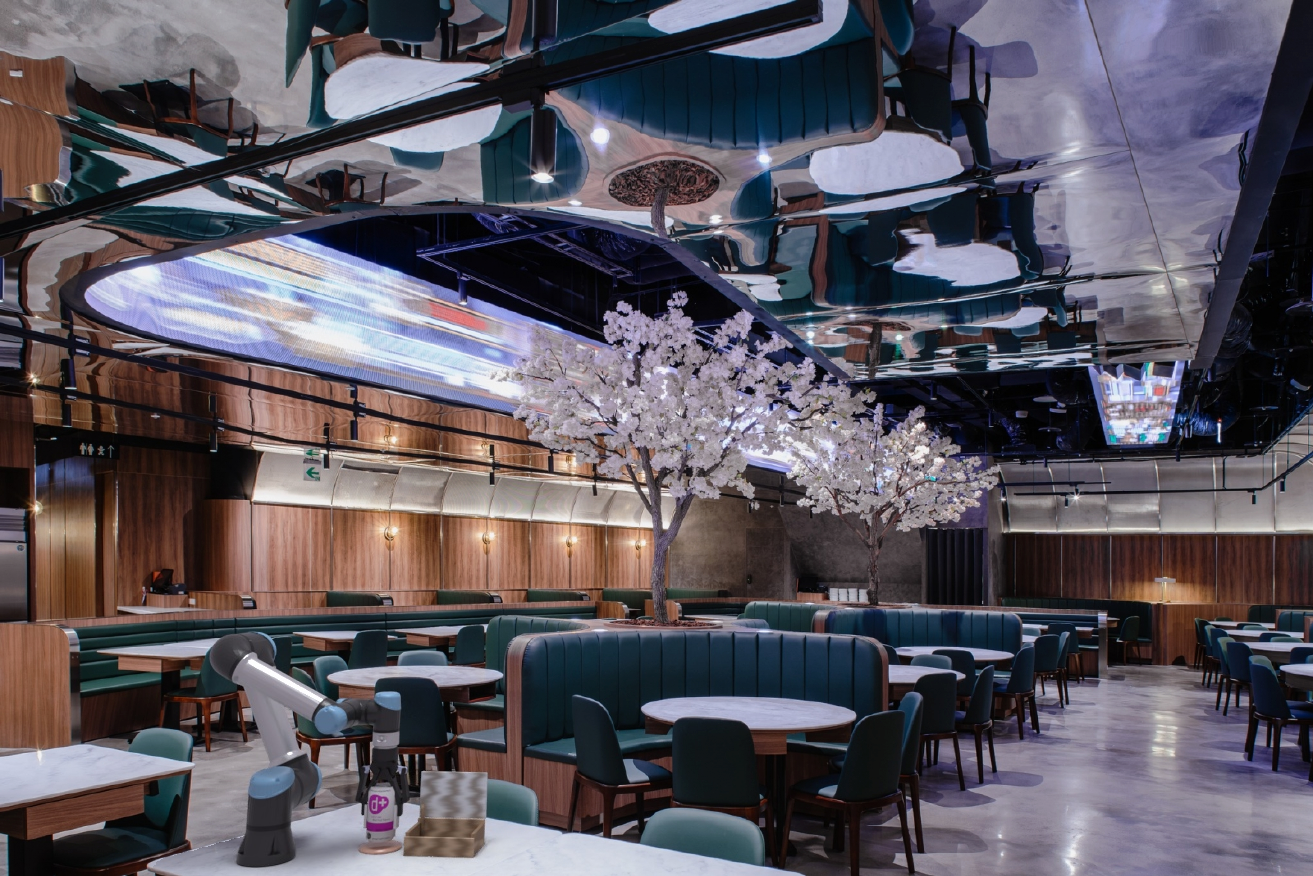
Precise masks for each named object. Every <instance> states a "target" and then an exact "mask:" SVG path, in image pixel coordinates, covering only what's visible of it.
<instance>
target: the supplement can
mask: <svg viewBox="0 0 1313 876" xmlns="http://www.w3.org/2000/svg"><path fill="white" fill-rule="evenodd" d="M396 804H397V802H396V799H395V791H394V789H393V786H392V787H391V786H390V783H389V782H377V783H376V785H375V786H373V787H372V786H371V788H370V790H369V793H368V811H367V828H365V829H366V833H365V839H366V840H367V842H374V843H382V842H387V841H390V840H394V838H395V837H396V830H397V829H393V822H394V805H396Z"/></svg>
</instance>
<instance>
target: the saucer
mask: <svg viewBox="0 0 1313 876" xmlns="http://www.w3.org/2000/svg"><path fill="white" fill-rule="evenodd" d="M402 848H403V843H402V842H401V841H399V840H394V839H392V840H390V841H387V842H382V843H374V842H369V841H367V842H364V843H362V844H360V845H359V846H358V852H359V853H361V854H365V855H374V856H375V855H386V854H392V853H394V852H397V851H399V850H401V849H402Z"/></svg>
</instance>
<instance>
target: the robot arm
mask: <svg viewBox="0 0 1313 876" xmlns="http://www.w3.org/2000/svg"><path fill="white" fill-rule="evenodd" d="M276 655H277V646H276V643H275V641H274V640H273V639H272V637H271V636H269V635H268V634H267V633H264V632H259V631H247V632H241V633H240V632H239V633H232V634H226V635H224V636H222V637H220V638H219V639H218V640H217V641H215V643H213V645H212V646H211V649H210V651H209V662H210V665H211V667H212V669H213V670H214V671H215V672H216V673H217V674H218V675H220V676H222V677H223V678H225V679H226V680H229V681H230V682H232V683H234V684H236V685H238V686H239V685H240V686H242V687H243V689H244V692H245V695H246V698H247V700H248V703H249V706H250V709H251V712H252V715H253V718H254V721H255V723H256V726H257V729H258V731H259V734H260V738H261V741H262V743H263V746H264V749H265V751H266V756H267V758H268V761H269V764H268V766H267V768H263V769H260V770H258V771H256V772H255V773H253V774H252V776H251V777H250V779H249V785H248V788H247V792H248V794H247V806H246V807H247V809H246V810H247V811H246V822H245V823H246V824H245V825H246V826H245V832H244V835H243V837H242V841H241V843H240V846H239V848H238V850H237V855H236V863H237V864H238V865H241V866H243V867H252V868H253V867H256V868H257V867H269V866H275V865H279V864H280V865H281V864H284V863H286V862H289V861H291V860H293V859H294V858H295V857H296V852H297V846H296V841H295V838H294V834H293V831H292V814H293V813H292V812H293V810H295V809H296V808H298V807H300V806H303V805H305V804H308V803H309V802H310V801H311V800H312V799H314V798H315V797H316V796H317V794H318V793H319V791H320V789H321V787H322V784H323V774H322V771H321V769H320V767H319V765H318V764H316V762H315V763H314V762H312V761H311V760H310V759H309V755H308V753H307V751H305V750H302V749H301V748H299V743H298V741H297V738H296V735H295V733H294V731H293V727H292V724H291V721H290V719H289V716H288V713H287V711H286V708H287V709H289V710H291V712H295V713H296V714H297V715H299V716H301V717H303V718H305V719H306V720H308V721H311V722H312V723H314V726H315V728H316V729H317V731H318V732H320V733H321V734H323V735H333V734H338V733H339V732H341V731H344V730H347V729H349V728H352V727H353V726H372V727H373V728H372V729H373V730H372V746H373V747H372V749H371V762H370V764H369V765H366V764H365V765H363V766H361V767H360V768H359V772H360V777H359V782H358V785H357V790H356V795H355V799H354V800H355V802H356V803H360V804H361V811H360V814H361V816H363V829H367V811H368V793H369V790H370V788H371V786H372V787H373V786H375V785H376V783H378V782H379V781H381V780H383V781H387V783H390V786H391V787H392V786H393V789H394V791H395V799H396V802H397V804H396V805H394V822H393V829H396V830H397V829H398V828H399V827H400V817H401V816H402V815H403V814H404V804H407V803H408V802H409V801H410V800H411V797H410V788H409V780H408V779H409V778H408V771H409V766H407V765H405V766H402V765H400V764H399V750H400V749H399V747H398V745H399V744H400V726H401V724H400V723H401V710H402V703H401V700H402V699H401V698H402V697H401V694H400V692H397V691H380V692H377V693H375V695H374V698H356V697H355V698H353V697H348V698H347V697H346V698H345V697H344V698H338V699H337V700H336V701H334V700H333V699H332V698H329V697H328V696H326V695H323V694H322V693H320V692H319V691H317V690H315V689H313V688H312V687H310V686H307V684H304V683H303V682H301V681H298V680H297V679H295V678H293V677H291V676H290V675H288V674H286V673H284V672H283V671H281V670H279V669H277V666H276V663H275V662H274V661H275V658H276ZM370 772H371V773H372V778H371V780H370V783H369V784H368V787H367V788H366V783H367V780H368V779H367V778H368V776H369V775H368V774H369V773H370ZM397 772H398V773H399V775H400V785H401V789H400V786H399V784H398V781H397V776H396V773H397ZM365 788H366V790H365ZM364 792H365V793H364Z"/></svg>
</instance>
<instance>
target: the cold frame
mask: <svg viewBox="0 0 1313 876" xmlns="http://www.w3.org/2000/svg"><path fill="white" fill-rule="evenodd" d="M420 775H421V776H420V777H421V778H420V794H419V795H420V798H419V817H418V818H417V822H416V823H415V824H413V825H412V827H411V826H410V828H408V829H407V831H406V832H405V833H404V834H405V835H404V837H403V852H402V853H403V854H402V855H403V857H425V858H426V857H427V858H428V856H430V857H431V858H433V857H434V858H436V857H437V858H464V859H465V858H467V859H468V858H471V859H472V858H473V859H474V857H475V856H476V855H477V853H478V852H479V851H480V850H481V849H482V847H483V846H484V845H485V837H486V836H485V835H486V833H485V832H486V819H487V805H488V804H487V803H488V801H487V800H488V799H487V798H488V772H485V771H484V772H483V771H482V772H480V771H477V772H476V771H475V772H474V771H471V772H470V771H433V770H431V771H429V770H428V771H427V770H426V771H425V770H423V771H421V774H420ZM432 856H433V857H432Z"/></svg>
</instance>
